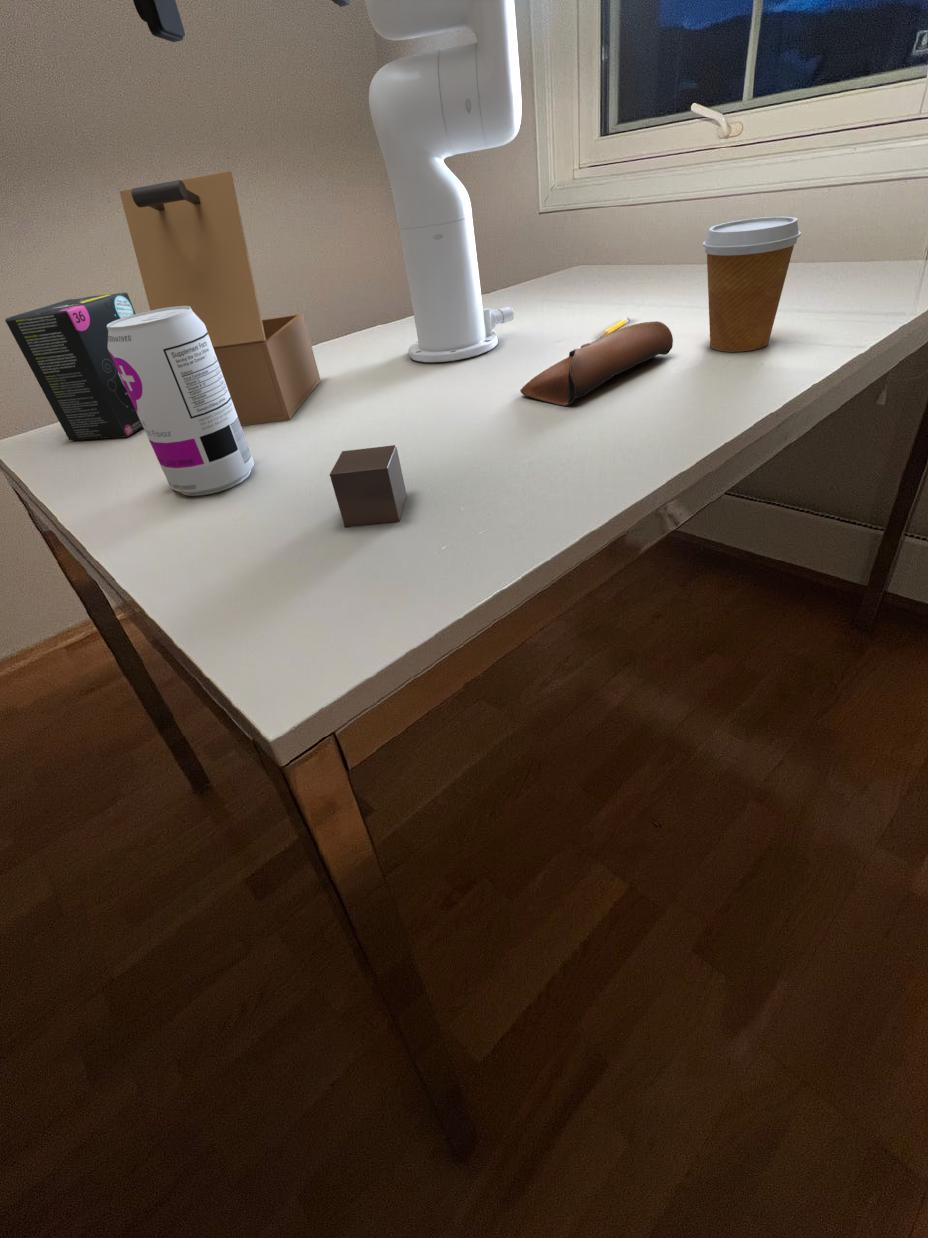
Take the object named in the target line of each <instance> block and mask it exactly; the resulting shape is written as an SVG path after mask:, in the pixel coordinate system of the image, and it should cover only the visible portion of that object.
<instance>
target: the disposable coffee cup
mask: <svg viewBox="0 0 928 1238" xmlns="http://www.w3.org/2000/svg"><path fill="white" fill-rule="evenodd" d="M801 234H802V232H801V231H800V230H799V220H798V218H797V217H794V216H763V217H755V218H754V217H753V218H746V219H740V220H733V221H728V222H723V223H720V224H715V225H713V226H711V227H709V228H708V230H707V235H706V238H705V240H704V241H703V243H702V246H703V247H704V253H705V254H706V268H707V269H706V270H707V271H706V272H707V295H708V319H709V321H708V324H709V347H710V348H712V350H716V351H719V352H727V353H729V352H730V353H735V352H748V351H753V350H755V351H756V350H758V349H761V348H764V347H766V346H767V345H768V344H769V343H770V339H771V335H772V331H773V327H774V324H775V321H776V315H777V313H778V308H779V304H780V300H781V297H782V293H783V290H784V285H785V281H786V278H787V273H788V270H789V267H790V262H791V258H792V254H793V251H794V247H795V245H796V244H797V243H798V238H799V237H801Z"/></svg>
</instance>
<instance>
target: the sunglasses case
mask: <svg viewBox="0 0 928 1238" xmlns="http://www.w3.org/2000/svg"><path fill="white" fill-rule="evenodd" d="M673 343H674V338H673V333H672V331H671V330H670V328H669V326H667V325H666V324H665V323H663V322H661V321H643V322H640V323H639V322H638V323H634V324H630V325H627V326H623V327H621V328H618V329H617V330H615V331H614V332H612V333H609V334H607V335H605V336H603V337H599V338H597V339H595V340H593V341H592V342H587V343H585V344H582V345H581V346H580V347H579V348H574V349H573V350H571V351H569V354H568V356H567V357H566V358H564V359H562V360H560V361H558V362H557V363H555V364H553V365H551V366H549V367H548V368H546V369H544V370H543V371H541V372H540V373H538V374H536V376H534V377H533V378H531V379H530V380H529V381H528V382H527V383H525V384H524V385H523V386H521V389H520V390H519V391H520V393H521V394H522V395H524V396H525V397H529V398H532V399H533V400H536V401H539V402H542V403H548V404H553V405H557V406H563V407H567V406H569V405H571V404H572V403H573V402H574V400H575V399H579V398H581V397H584V396H585V395H586V394H588V393H590V392H591V391H593V390H595V389H596V388H598V387H599V386H601V385H602V384H603V383H604V382H607V381H609V380H610V379H612V378H613V377H614V376H616V375H619V374H621V373H623V372H625V371H629V370H630V369H632V368H633V367H636V366H637V365H639V364H640V363H645V362H646V361H649V360H650V359H652V358H654V357H655V356H658V355H663V356H666V355H668V354H669V353H670V351H671V350H672V349H673V347H674V346H673V345H674V344H673Z"/></svg>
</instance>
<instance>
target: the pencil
mask: <svg viewBox="0 0 928 1238" xmlns="http://www.w3.org/2000/svg"><path fill="white" fill-rule="evenodd" d="M630 321H631V319H630V318H629V317H624V318H623V319H621V320H619V321H618V322H616V323H615V324H613V325H612V326H610V327H608V328H606V329H605V330H603V332H602V333H601V335H600V336H599V338H602V337H603V336H605V335H607V334H609V333H612V332H614V331H616V330H619V329H621V328H623V327H624V326H625V325H627V324H628V323H630Z"/></svg>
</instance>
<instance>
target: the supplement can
mask: <svg viewBox="0 0 928 1238" xmlns="http://www.w3.org/2000/svg"><path fill="white" fill-rule="evenodd" d="M107 329H108V347H107V348H108V350H109V352H110V355H111V357H112V359H113V361H114V363H115V366H116V368H117V370H118V372H119V375H120V377H121V379H122V381H123V383H124V386H125V388H126V390H127V392H128V394H129V397H130V399H131V401H132V403H133V406H134V408H135V410H136V412H137V414H138V417H139V419H140V421H141V423H142V426H143V427H142V428H143V429H144V432H145V434H146V436H147V439H148V441H149V443H150V445H151V447H152V448H151V449H152V450H153V452H154V455H155V456H156V459H157V461H158V463H159V465H160V467H161V470H162V472H163V474H164V476H165V479H166V481H167V483H168V486H169V488H171V489H172V490H174V491H176V492H179V493H181V494H183V495H184V496H189V497H190V496H191V497H198V496H208V495H212V494H217V493H220V492H222V491H226V490H228V489H231V488H233V487H235V486H237V485H239V484H241V483H242V482H243V481H245V480H247V478H249V476H250V474H251V471H252V469H253V467H254V465H255V461H254V458H253V455H252V453H251V450H250V447H249V445H248V441H247V439H246V436H245V432H244V430H243V428H242V426H241V424H240V422H239V419H238V416H237V413H236V410H235V408H234V405H233V402H232V399H231V396H230V394H229V391H228V388H227V385H226V382H225V380H224V377H223V374H222V371H221V368H220V366H219V363H218V360H217V357H216V354H215V352H214V349H213V346H212V343H211V340H210V338H209V335H208V332H207V329H206V326H205V324H204V323H203V322H202V321H201V320H200V319H199V318H198V317H197V316H196V314H195V313H194V312H193V311H192V309H191V307H190V306H177V307H169V308H162V309H157V310H152V311H150V310H147V311H143V312H139V313H136V314H135V315H131V316H128V317H124V318H121V319H118V320H115V321H113V322H111V323H109V324H107Z"/></svg>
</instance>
